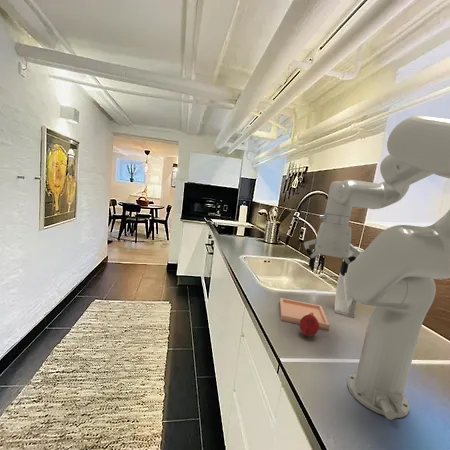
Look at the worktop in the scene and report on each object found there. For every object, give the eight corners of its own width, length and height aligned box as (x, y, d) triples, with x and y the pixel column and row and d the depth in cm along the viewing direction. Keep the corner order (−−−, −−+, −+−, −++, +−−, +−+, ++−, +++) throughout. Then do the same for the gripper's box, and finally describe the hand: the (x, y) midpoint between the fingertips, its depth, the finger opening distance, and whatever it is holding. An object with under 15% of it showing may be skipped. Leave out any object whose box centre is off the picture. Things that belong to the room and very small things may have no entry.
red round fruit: (317, 343, 81) (322, 318, 80) (298, 339, 82) (303, 314, 81) (315, 333, 87) (319, 310, 86) (297, 329, 88) (301, 306, 87)
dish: (328, 330, 90) (329, 325, 90) (280, 320, 93) (281, 315, 93) (320, 310, 106) (321, 305, 106) (279, 302, 108) (280, 297, 108)
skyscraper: (330, 311, 106) (344, 243, 102) (330, 304, 114) (343, 240, 110) (353, 317, 103) (369, 247, 100) (351, 309, 111) (365, 244, 107)
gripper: (309, 217, 84) (300, 270, 86) (369, 225, 81) (357, 280, 83) (307, 215, 91) (299, 264, 93) (361, 223, 88) (351, 273, 90)
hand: (326, 271), depth 88 cm, fingers open, 9 cm apart
